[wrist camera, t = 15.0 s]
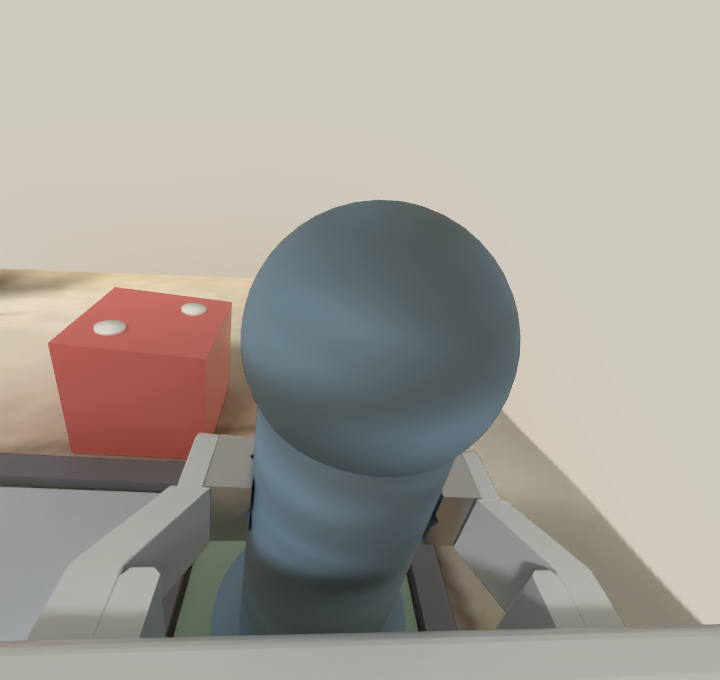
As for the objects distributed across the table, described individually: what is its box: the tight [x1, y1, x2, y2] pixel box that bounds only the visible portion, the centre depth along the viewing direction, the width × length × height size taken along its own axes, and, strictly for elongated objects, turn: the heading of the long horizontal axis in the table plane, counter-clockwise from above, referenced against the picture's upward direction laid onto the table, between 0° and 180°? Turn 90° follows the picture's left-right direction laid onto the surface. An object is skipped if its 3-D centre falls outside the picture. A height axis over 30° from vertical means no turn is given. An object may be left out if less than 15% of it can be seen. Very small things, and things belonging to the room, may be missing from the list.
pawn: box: [211, 200, 520, 636], centre depth 10 cm, size 6×6×14 cm
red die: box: [48, 287, 232, 459], centre depth 20 cm, size 6×6×6 cm
